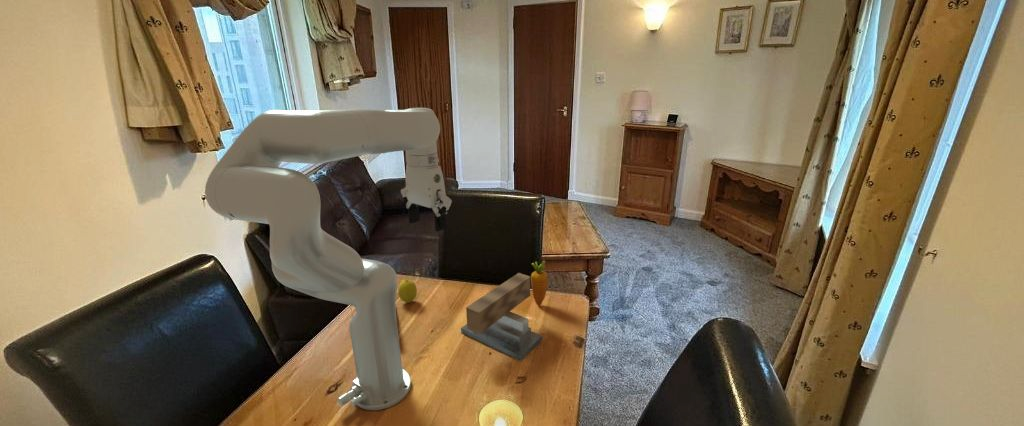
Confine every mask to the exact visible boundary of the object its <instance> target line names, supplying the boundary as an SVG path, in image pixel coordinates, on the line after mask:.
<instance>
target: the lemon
mask: <svg viewBox="0 0 1024 426" xmlns="http://www.w3.org/2000/svg"><path fill="white" fill-rule="evenodd" d="M397 290H398V291H397V292H398V293H397V294H398V298H399V299H400V300H401V301H402V302H404V303H408V304H410V303H411V302H412V301H414V300H415V299H416V297H417V294H418V290H417V286H416V283H415V282H414V281H413V280H410V279H404V280H403V281H401V282H400V283H399V285H398V287H397Z"/></svg>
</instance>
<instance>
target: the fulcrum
mask: <svg viewBox="0 0 1024 426" xmlns="http://www.w3.org/2000/svg"><path fill="white" fill-rule="evenodd" d="M460 333H461V334H463V335H465V336H467V337H469V338H471V339H473V340H476V341H477V342H480V343H482V344H484V345H485V346H488V347H490V348H493V349H495V350H497V351H498V352H501V353H503V354H505V355H507V356H509V357H512V358H514V359H516V360H518V361H520V362H522V361H523V360H524V359H525V358H526V357H527V356H528V355H529V354H530V353H532V351H534V349H535V348H536V347H537V346H538V345H540V343H542V342H543V335H542V334H539V333H537V332H534V331H532V327H529V318H527V317H525V316H522V315H520V314H517V313H515V312H514V311H513V312H512V311H510V312H508V313H507V314H506V315H504V316H503V317H502V318H500V319H499V320H498V321H496V322H495V323H494V324H493V325H491V326H490V327H489V328H487V329H486V330H485V331H483V332H482V333H481V334H478V333H476V332H474V331H471V330H469V329H467V323H466V324H465V325H464V326H462V327H460Z"/></svg>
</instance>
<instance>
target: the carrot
mask: <svg viewBox="0 0 1024 426" xmlns="http://www.w3.org/2000/svg"><path fill="white" fill-rule="evenodd" d="M545 264H546V261H545V260H542V262H541V263H540V264H539V265H538V262H537V261H534V262H532V263H531V266H532V267H533V269H534V271H533V272H532V273H531V275H530V277H531V278H530V285H531V291H532V296H533V298H534V302H535V304H536V305H537V306H538V307H539V306H541V305H542V304H543V301H544V300H545V298H546V294H547V290H548V274H547V272H546V271H544V268H545Z"/></svg>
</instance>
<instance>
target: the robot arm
mask: <svg viewBox="0 0 1024 426" xmlns="http://www.w3.org/2000/svg"><path fill="white" fill-rule="evenodd" d="M440 134H441V124H440V121H439V119H438V117H437V115H435V112H434V110H433V109H431V108H428V107H410V108H409V107H408V108H407V109H406V108H405V109H385V110H382V109H381V110H380V109H367V108H366V109H365V108H349V109H346V108H345V109H329V110H328V109H327V110H326V109H322V110H320V109H319V110H316V109H315V110H289V109H287V110H282V109H272V110H266V111H264V112H262V113H260V114H258V115H257V116H256V117H254V118H253V120H252V121H250V123H248V125H246V127H245V128H244V129H243V131H241V133H240V134H239V135H238V136H237V138H236V139H235V140H234V141H233V142H232V144H231V145H230V146H229V148H228V149H227V150H226V152H225V153H223V156H222V157H221V158H220V160H218V162H217V163H216V164H215V166H214V168H213V169H212V170H211V172H210V174H209V175H208V177H207V180H206V182H205V183H206V184H205V186H204V187H205V188H204V189H205V191H204V196H205V199H206V201H207V204H208V206H209V207H210V208H211V210H212V211H214V212H215V213H216V214H218V215H220V216H221V217H224V218H227V219H232V220H236V221H243V222H252V223H259V224H266V225H269V257H270V260H271V270H272V272H273V276H274V277H275V278H276V280H277V282H279V283H281V284H282V286H285V287H287V288H289V289H293V290H295V291H298V292H300V293H303V294H305V295H308V296H311V297H314V298H317V299H320V300H324V301H329V302H333V303H339V304H344V305H347V306H352V307H354V308H355V310H356V311H355V313H354V314H353V316H352V317H351V320H350V322H349V334H350V341H351V346H352V352H353V357H354V358H353V359H354V364H355V365H354V366H355V371H356V378H355V379H354V380H352V383H353V386H351V387H350V388H349V390H348V391H347V392H344V393H343V394H342V395H340V396H339V397H338V398H337V402H338V404H339V406H341V407H344V406H345V405H346V404H348V403H349V402H350V405H351V406H352V407H353V408H354V407H356V406H357V407H359V408H361V409H364V410H366V411H379V410H380V411H381V410H385V409H388V408H391V407H393V406H395V405H396V404H398V403H399V402H401V401H402V400H403V399H404V398H405V397H406V396H407V395H408V394H409V392H410V389H411V386H412V381H411V380H412V379H411V376H410V374H409V372H407V371H406V370H405V369H403V364H402V356H401V355H402V354H401V346H400V337H399V336H400V335H399V328H398V322H397V321H398V320H397V309H396V308H397V307H396V306H397V305H396V304H397V292H398V291H397V290H398V276H397V272H396V271H395V269H394V268H393V267H392V266H390V265H389V264H387V263H385V262H383V261H380V260H374V259H369V258H368V259H367V258H361V256H360V254H359V253H358V252H357V251H356V250H355V249H354V248H352V247H351V246H349V244H346V243H344V242H342V241H341V240H339V239H337V238H336V237H334V236H332V235H331V234H329V233H327V232H326V231H325V230H323V229H322V227H321V196H320V192H319V189H318V187H317V185H316V183H315V182H314V181H313V180H312V179H311V178H310V176H308V175H307V174H305V173H303V172H301V171H299V170H296V169H293V168H292V169H291V168H288V167H287V168H286V167H280V165H281V163H282V162H283V163H296V164H297V163H298V164H311V165H315V164H324V163H329V162H336V161H340V160H345V159H350V158H355V157H361V156H367V155H380V154H387V153H393V152H403V151H405V159H406V166H405V187H403V188H401V189H400V194H401V196H402V199H403V202H404V203H405V207H406V209H407V212H408V213H407V214H408V224H411V225H412V224H414V223H417V222H420V220H421V218H420V216H421V215H420V207H421V206H422V207H425V208H429V209H432V212H433V213H434V214H435V215H434V230H435V231H436V232H441V231H442V230H445V229H446V228H447V221H446V215H447V214H448V211H450V207H451V205H452V202H453V200H452V199H451V198H450V197H449V196H447V194H446V186H445V180H444V174H443V171H442V167H441V165H439V162H440V158H439V157H438V156H439V155H438V144H437V140H438V139H439V136H440Z"/></svg>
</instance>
